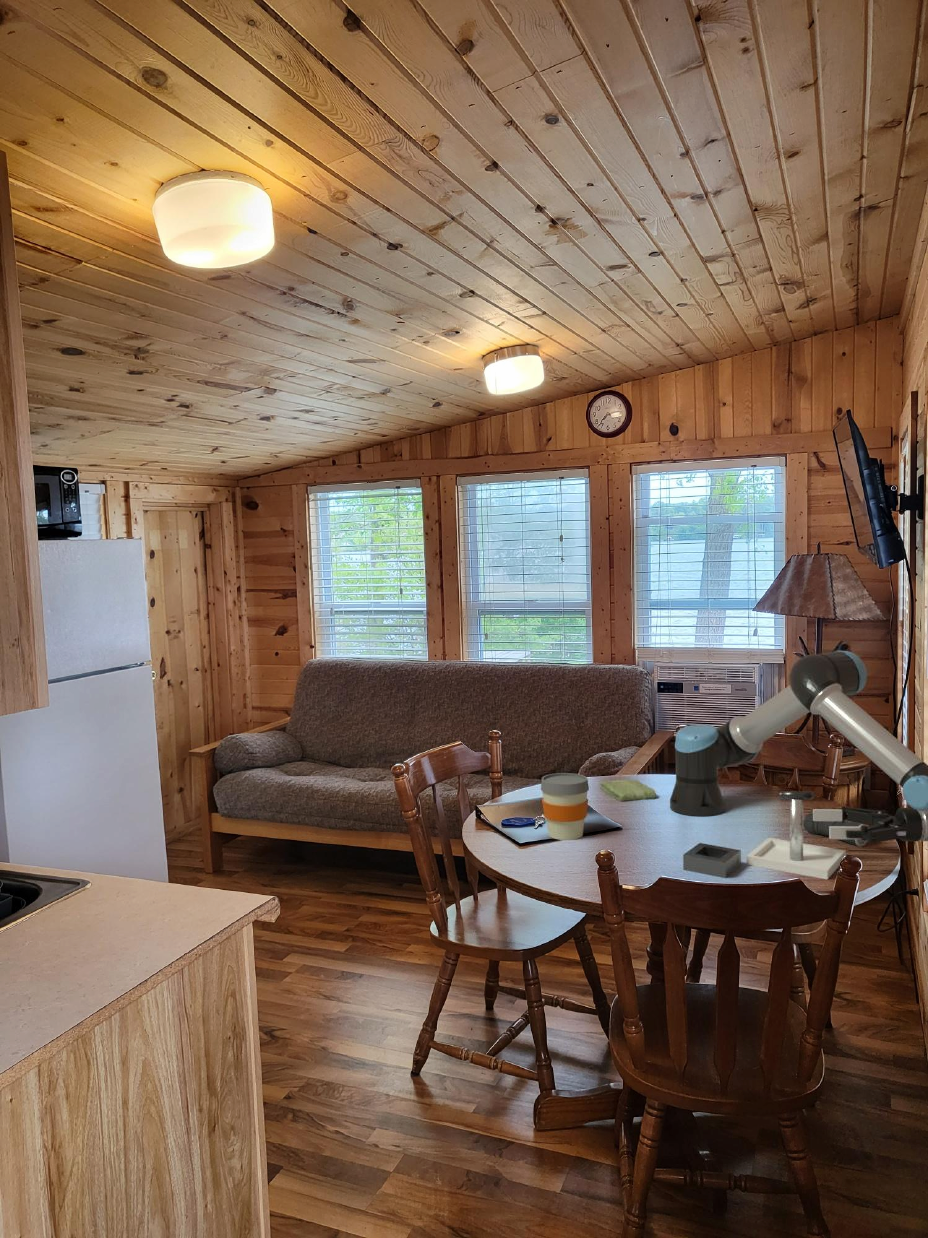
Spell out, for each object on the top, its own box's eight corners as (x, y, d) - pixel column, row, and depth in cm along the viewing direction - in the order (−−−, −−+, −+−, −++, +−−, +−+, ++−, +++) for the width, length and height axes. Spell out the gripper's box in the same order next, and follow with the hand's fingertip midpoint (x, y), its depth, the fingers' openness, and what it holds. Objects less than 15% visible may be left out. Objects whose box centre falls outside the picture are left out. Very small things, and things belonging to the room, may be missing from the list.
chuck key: (779, 861, 204) (779, 793, 203) (776, 856, 207) (776, 789, 206) (816, 861, 203) (816, 793, 202) (812, 857, 206) (812, 790, 205)
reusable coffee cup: (556, 845, 222) (555, 787, 221) (533, 831, 233) (532, 776, 232) (598, 837, 227) (597, 780, 226) (574, 824, 238) (573, 770, 237)
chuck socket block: (683, 869, 202) (683, 854, 202) (699, 857, 210) (699, 843, 210) (725, 878, 196) (725, 862, 196) (741, 865, 204) (740, 850, 204)
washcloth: (636, 785, 279) (636, 775, 278) (659, 800, 261) (658, 789, 261) (597, 789, 276) (597, 779, 276) (617, 804, 259) (617, 793, 259)
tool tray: (746, 864, 204) (746, 856, 204) (768, 845, 217) (768, 837, 217) (827, 879, 193) (827, 870, 193) (845, 858, 206) (845, 850, 206)
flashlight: (801, 833, 226) (801, 813, 226) (814, 829, 229) (813, 809, 229) (856, 848, 213) (856, 827, 213) (869, 844, 216) (869, 822, 216)
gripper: (940, 859, 188) (837, 857, 191) (897, 824, 213) (807, 823, 216) (940, 825, 188) (837, 824, 191) (897, 794, 213) (807, 793, 215)
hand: (821, 823), depth 203 cm, fingers open, 13 cm apart
